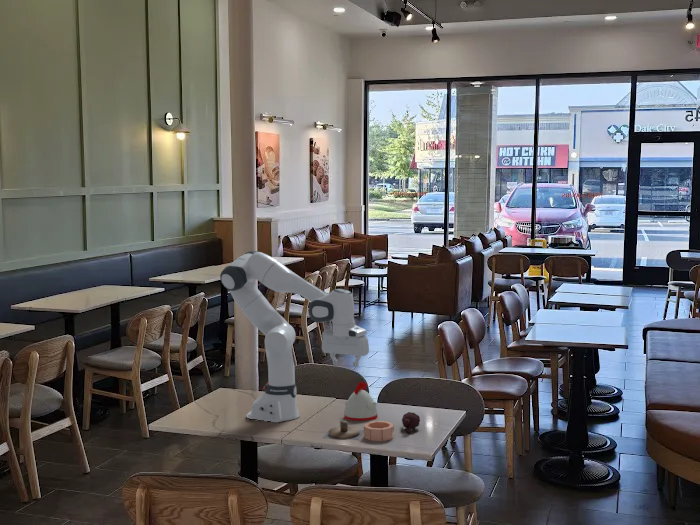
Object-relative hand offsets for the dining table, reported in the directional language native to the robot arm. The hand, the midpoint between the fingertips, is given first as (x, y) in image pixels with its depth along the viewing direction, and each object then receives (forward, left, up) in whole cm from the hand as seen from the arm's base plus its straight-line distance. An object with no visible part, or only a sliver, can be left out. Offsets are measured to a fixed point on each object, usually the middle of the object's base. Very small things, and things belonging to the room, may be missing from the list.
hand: (345, 365), depth 313 cm
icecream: (+24, +7, -27) cm, 37 cm away
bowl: (+14, -7, -26) cm, 31 cm away
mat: (0, -6, -26) cm, 27 cm away
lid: (0, -6, -26) cm, 26 cm away
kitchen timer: (+1, +20, -27) cm, 33 cm away
